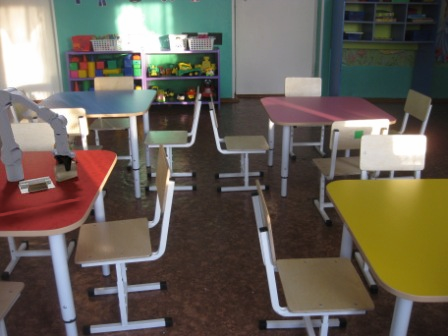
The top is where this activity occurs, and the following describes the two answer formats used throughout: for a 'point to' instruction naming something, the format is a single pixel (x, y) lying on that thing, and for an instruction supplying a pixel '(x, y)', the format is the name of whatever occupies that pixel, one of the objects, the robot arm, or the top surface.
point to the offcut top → (37, 184)
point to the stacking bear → (69, 149)
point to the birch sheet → (65, 172)
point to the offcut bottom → (37, 188)
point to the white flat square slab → (24, 184)
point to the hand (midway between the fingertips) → (65, 170)
